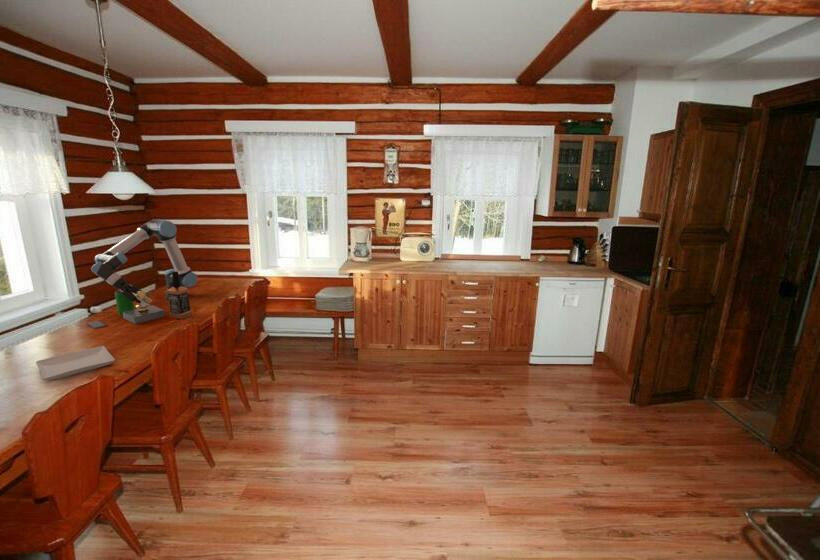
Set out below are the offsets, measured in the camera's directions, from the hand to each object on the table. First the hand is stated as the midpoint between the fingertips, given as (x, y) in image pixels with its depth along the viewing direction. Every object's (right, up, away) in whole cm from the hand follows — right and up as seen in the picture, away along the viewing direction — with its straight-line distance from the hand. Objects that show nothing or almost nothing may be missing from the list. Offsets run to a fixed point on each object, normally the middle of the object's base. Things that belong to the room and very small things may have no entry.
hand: (148, 303), depth 259 cm
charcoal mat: (-25, -13, -6) cm, 29 cm away
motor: (-24, -8, +14) cm, 29 cm away
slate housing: (-3, -11, +2) cm, 11 cm away
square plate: (+8, -28, -64) cm, 70 cm away
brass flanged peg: (-3, -6, +1) cm, 7 cm away
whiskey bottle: (+18, -10, +7) cm, 22 cm away
